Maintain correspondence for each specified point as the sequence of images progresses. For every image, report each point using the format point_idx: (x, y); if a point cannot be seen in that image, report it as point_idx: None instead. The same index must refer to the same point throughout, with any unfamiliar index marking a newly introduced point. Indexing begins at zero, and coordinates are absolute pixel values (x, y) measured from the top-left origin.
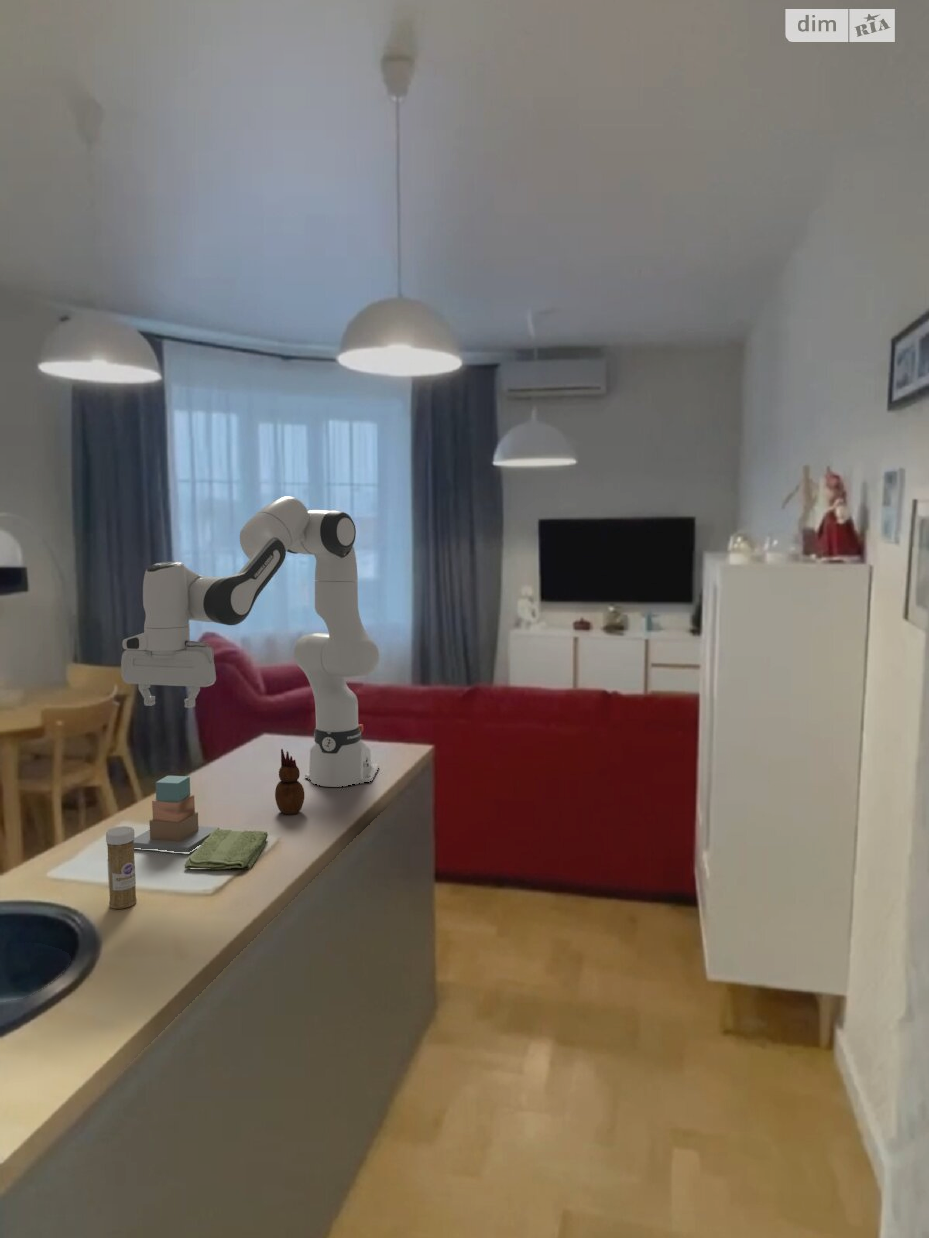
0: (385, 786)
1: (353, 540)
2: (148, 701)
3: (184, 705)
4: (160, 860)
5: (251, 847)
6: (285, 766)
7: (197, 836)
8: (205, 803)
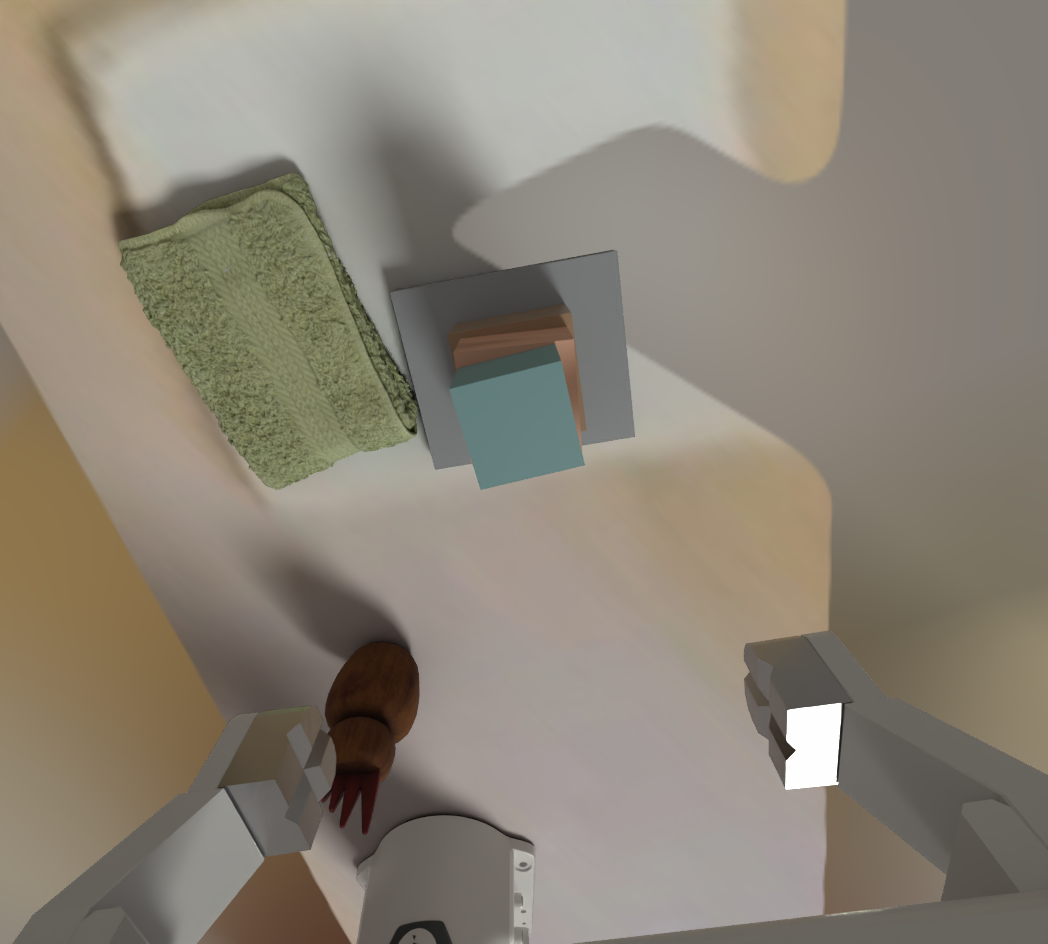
0: (308, 859)
1: None
2: (788, 666)
3: (302, 714)
4: (440, 212)
5: (177, 348)
6: (354, 767)
7: (439, 384)
8: (655, 631)
